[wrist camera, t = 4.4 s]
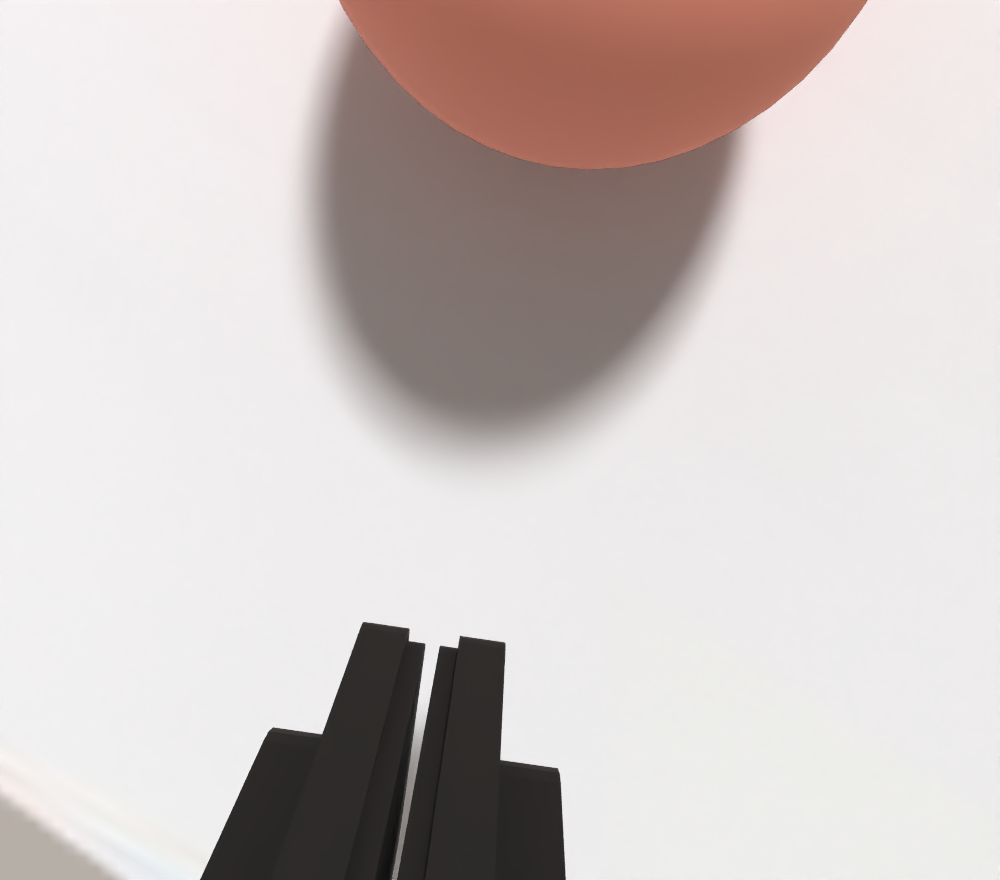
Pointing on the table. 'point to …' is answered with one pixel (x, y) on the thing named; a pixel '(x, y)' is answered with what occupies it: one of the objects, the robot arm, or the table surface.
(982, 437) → the table surface
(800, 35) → the ball
